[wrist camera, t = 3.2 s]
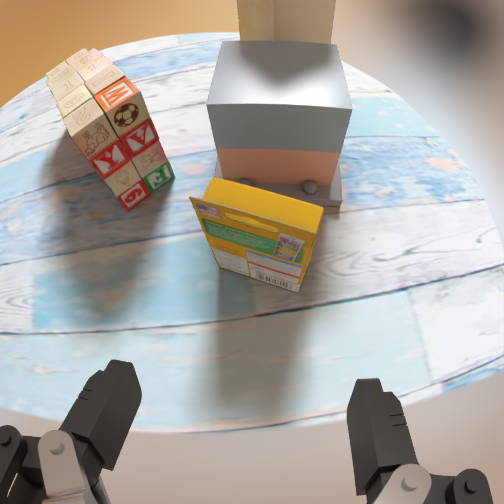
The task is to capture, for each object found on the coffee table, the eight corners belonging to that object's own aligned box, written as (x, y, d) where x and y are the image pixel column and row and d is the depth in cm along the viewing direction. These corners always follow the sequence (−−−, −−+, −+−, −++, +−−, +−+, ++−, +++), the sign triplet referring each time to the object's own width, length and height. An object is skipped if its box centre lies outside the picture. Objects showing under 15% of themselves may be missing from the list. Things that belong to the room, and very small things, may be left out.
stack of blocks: (73, 117, 37) (35, 57, 25) (108, 93, 38) (78, 29, 26) (128, 213, 30) (68, 136, 19) (177, 178, 31) (140, 88, 20)
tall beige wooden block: (288, 63, 37) (290, -73, 18) (325, 90, 35) (344, -62, 15) (240, 83, 36) (224, -67, 17) (275, 113, 34) (273, -60, 14)
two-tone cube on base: (213, 202, 30) (188, 120, 19) (226, 114, 34) (213, 34, 24) (339, 206, 29) (369, 125, 18) (330, 117, 33) (344, 38, 23)
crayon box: (308, 261, 27) (332, 189, 16) (298, 293, 26) (318, 238, 15) (230, 237, 28) (208, 156, 18) (217, 267, 27) (186, 198, 17)
